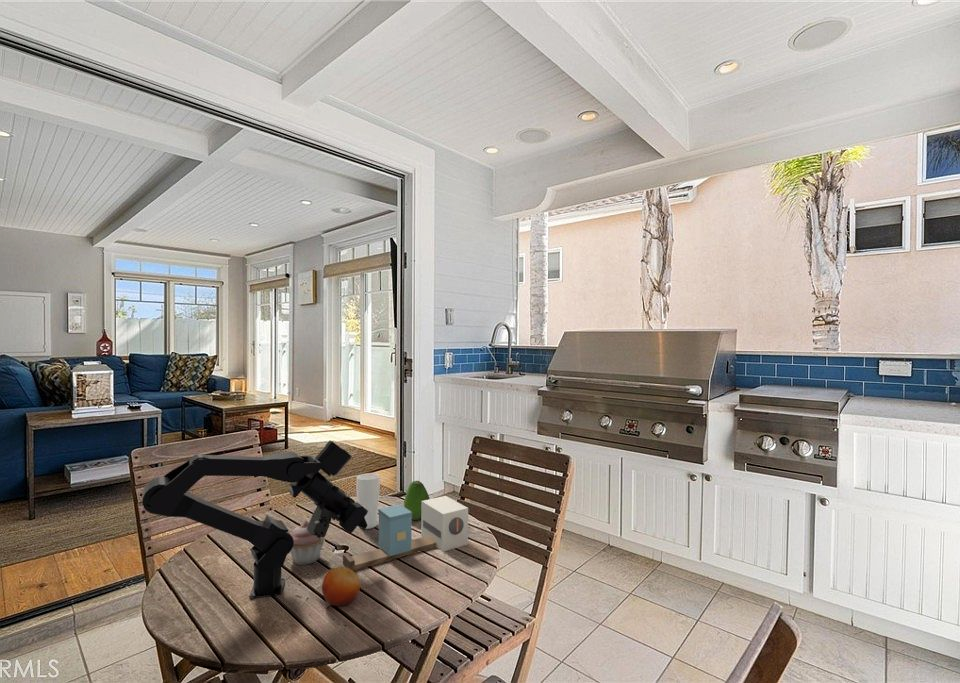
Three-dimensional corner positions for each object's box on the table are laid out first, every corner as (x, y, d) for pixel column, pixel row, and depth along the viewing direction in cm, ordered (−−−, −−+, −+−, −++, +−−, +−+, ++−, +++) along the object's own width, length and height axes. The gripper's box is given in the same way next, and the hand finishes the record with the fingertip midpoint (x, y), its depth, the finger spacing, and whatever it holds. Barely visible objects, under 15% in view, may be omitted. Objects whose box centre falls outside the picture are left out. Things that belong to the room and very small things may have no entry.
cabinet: (444, 553, 126) (444, 515, 125) (421, 536, 136) (421, 501, 136) (469, 545, 130) (470, 509, 130) (445, 529, 141) (445, 495, 141)
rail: (349, 571, 115) (349, 561, 115) (342, 563, 119) (342, 553, 119) (436, 546, 129) (436, 538, 129) (427, 540, 133) (427, 531, 133)
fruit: (311, 590, 104) (331, 556, 106) (344, 602, 107) (363, 569, 108) (312, 610, 97) (334, 573, 98) (347, 623, 99) (367, 586, 100)
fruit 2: (432, 514, 152) (432, 477, 152) (426, 524, 144) (427, 485, 144) (407, 513, 153) (407, 476, 153) (401, 523, 145) (401, 484, 145)
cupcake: (277, 563, 119) (277, 523, 119) (305, 548, 128) (306, 511, 127) (305, 571, 115) (306, 530, 115) (333, 555, 124) (333, 517, 124)
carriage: (390, 556, 120) (390, 517, 120) (378, 546, 126) (378, 508, 126) (412, 550, 124) (412, 512, 123) (399, 540, 130) (399, 504, 129)
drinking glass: (355, 523, 145) (355, 474, 145) (378, 520, 147) (378, 472, 147) (356, 531, 139) (357, 480, 139) (380, 529, 141) (380, 478, 141)
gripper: (286, 508, 118) (331, 541, 125) (308, 534, 103) (357, 570, 109) (319, 471, 122) (360, 505, 129) (344, 490, 107) (389, 528, 114)
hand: (365, 526), depth 120 cm, fingers closed
